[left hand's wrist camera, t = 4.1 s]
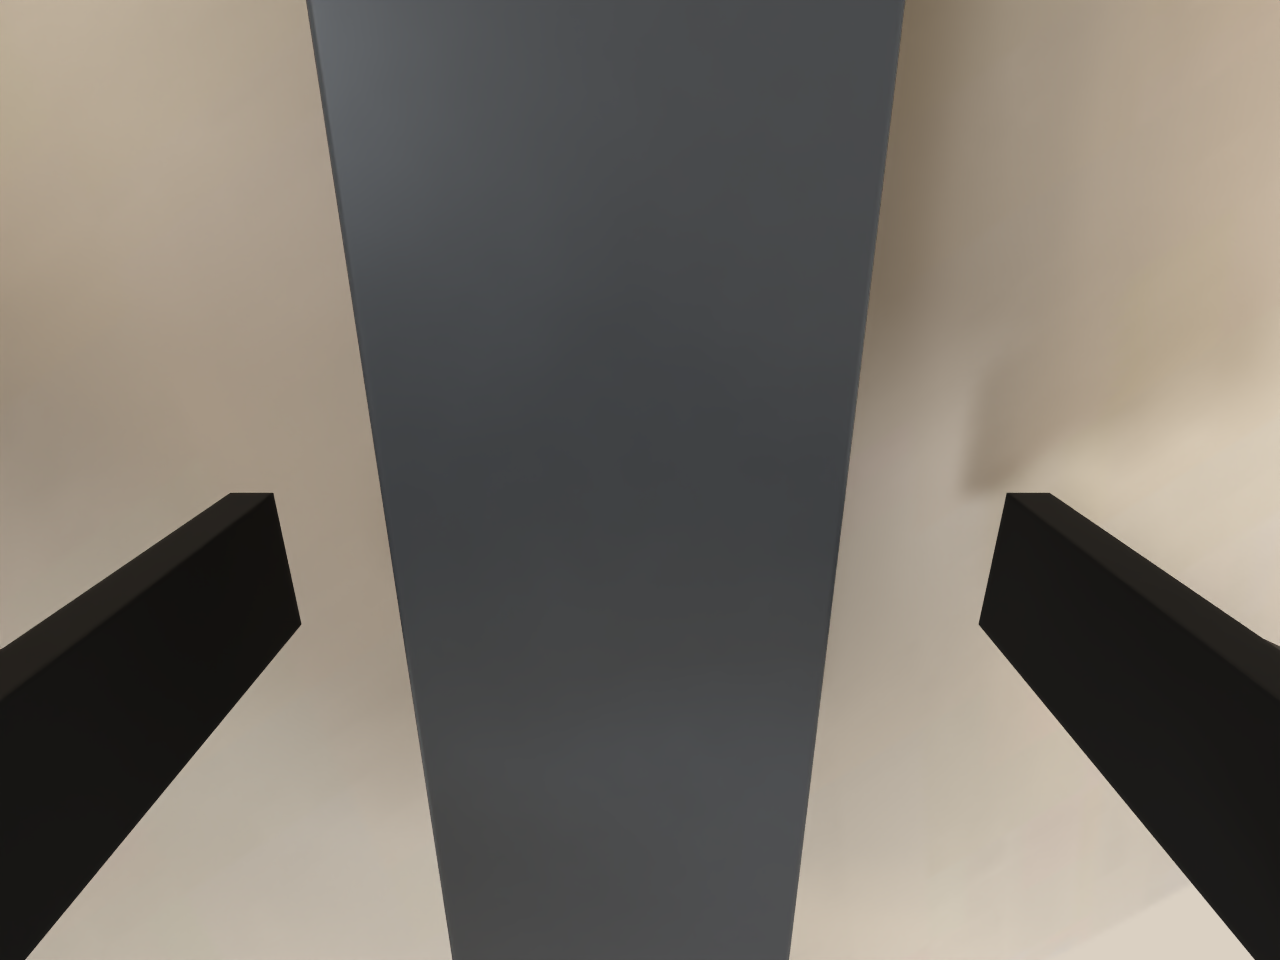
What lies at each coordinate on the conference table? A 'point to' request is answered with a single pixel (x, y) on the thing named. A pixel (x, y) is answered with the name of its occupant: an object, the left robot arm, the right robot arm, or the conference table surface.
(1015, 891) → the conference table surface
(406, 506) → the post
